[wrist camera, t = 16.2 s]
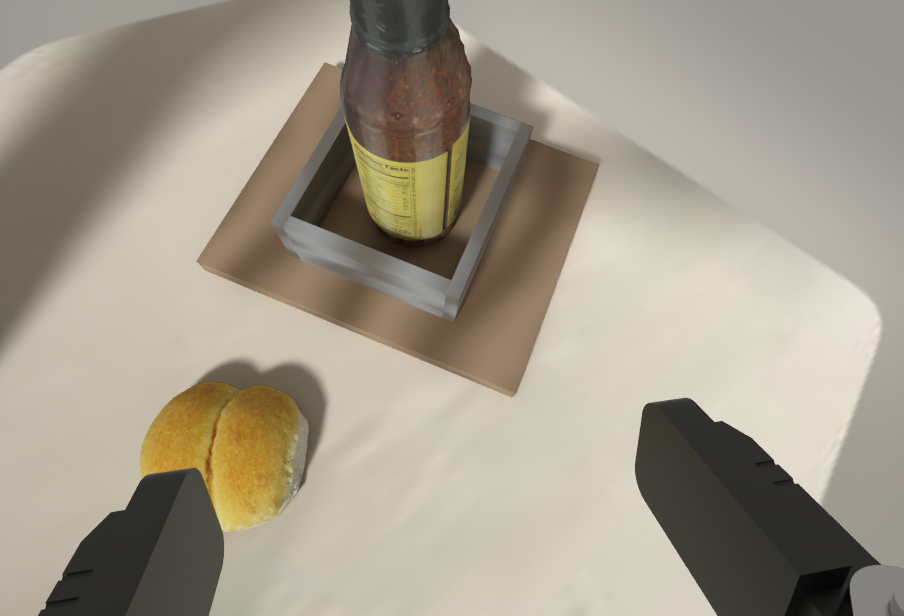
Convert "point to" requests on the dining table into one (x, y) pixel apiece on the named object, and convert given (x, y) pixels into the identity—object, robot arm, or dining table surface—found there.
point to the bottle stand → (401, 267)
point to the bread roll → (233, 448)
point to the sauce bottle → (407, 115)
